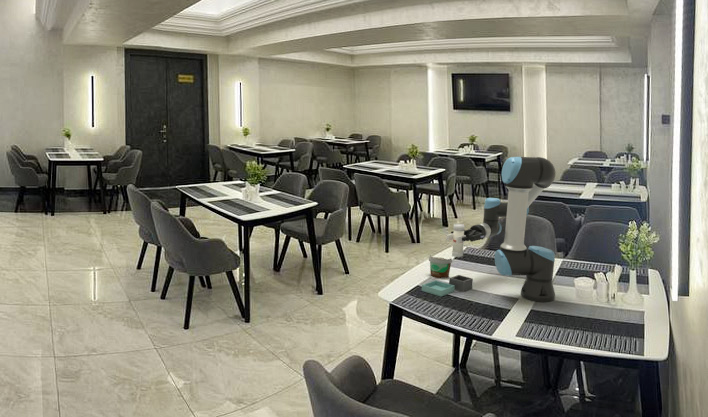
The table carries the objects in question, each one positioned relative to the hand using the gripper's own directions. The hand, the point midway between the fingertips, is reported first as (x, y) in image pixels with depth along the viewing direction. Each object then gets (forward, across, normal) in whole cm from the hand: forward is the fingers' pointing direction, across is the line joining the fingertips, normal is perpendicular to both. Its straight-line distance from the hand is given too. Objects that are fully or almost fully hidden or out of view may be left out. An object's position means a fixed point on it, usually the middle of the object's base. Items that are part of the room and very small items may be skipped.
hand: (452, 238), depth 272 cm
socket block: (-7, -2, -25) cm, 26 cm away
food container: (-13, +16, -25) cm, 33 cm away
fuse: (-5, 0, -9) cm, 10 cm away
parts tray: (+5, +3, -25) cm, 26 cm away
